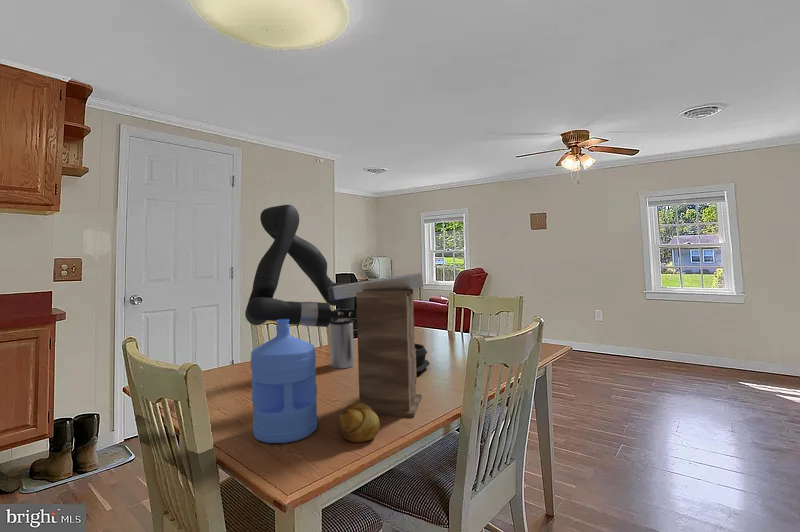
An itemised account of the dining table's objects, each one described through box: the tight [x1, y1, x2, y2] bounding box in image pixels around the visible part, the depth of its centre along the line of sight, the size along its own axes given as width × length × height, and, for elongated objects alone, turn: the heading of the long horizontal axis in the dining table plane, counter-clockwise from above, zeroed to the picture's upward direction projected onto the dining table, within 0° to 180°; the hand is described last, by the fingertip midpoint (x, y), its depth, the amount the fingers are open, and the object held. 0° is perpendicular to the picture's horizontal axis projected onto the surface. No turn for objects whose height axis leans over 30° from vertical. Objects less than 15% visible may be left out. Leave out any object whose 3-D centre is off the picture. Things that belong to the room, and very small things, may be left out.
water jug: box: [250, 319, 319, 444], centre depth 100 cm, size 16×16×28 cm
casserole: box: [414, 343, 430, 373], centre depth 154 cm, size 25×19×8 cm
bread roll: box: [338, 402, 381, 443], centre depth 98 cm, size 13×10×8 cm
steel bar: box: [327, 272, 424, 301], centre depth 119 cm, size 4×28×4 cm, turn 88°
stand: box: [356, 288, 422, 418], centre depth 116 cm, size 15×17×34 cm
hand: (363, 316), depth 131 cm, fingers open, 8 cm apart
